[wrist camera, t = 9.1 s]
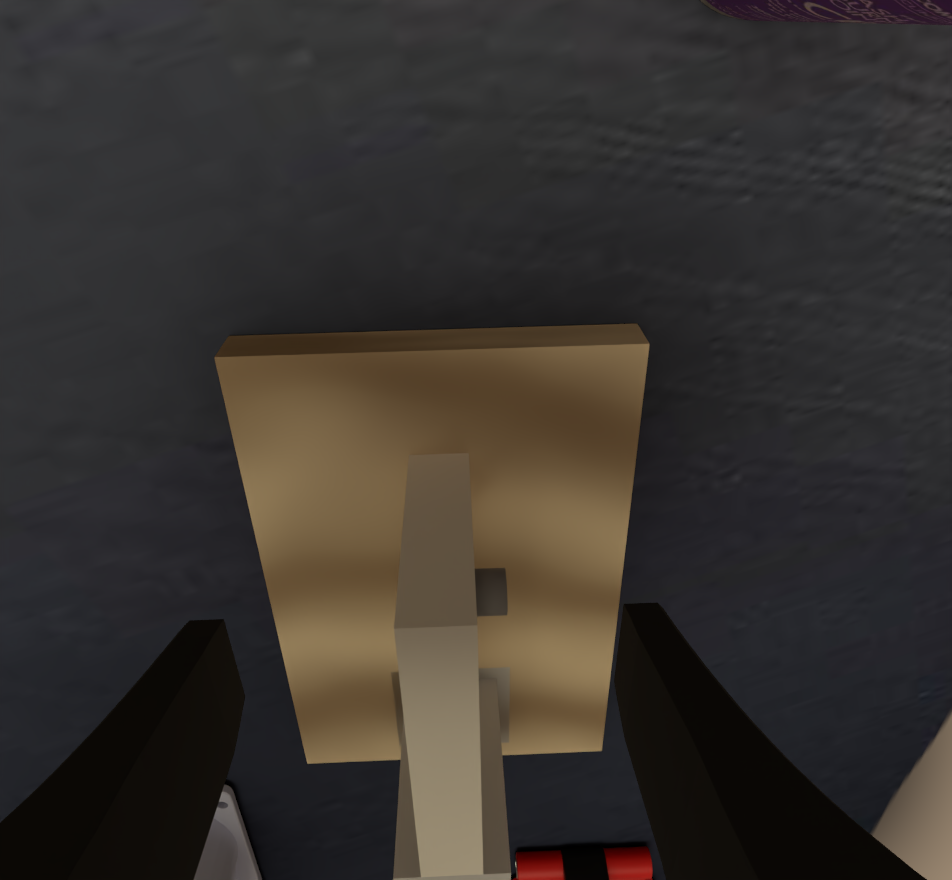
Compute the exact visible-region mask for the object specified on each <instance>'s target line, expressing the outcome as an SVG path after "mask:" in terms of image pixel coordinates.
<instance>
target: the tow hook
mask: <svg viewBox="0 0 952 880" xmlns="http://www.w3.org/2000/svg"><path fill="white" fill-rule="evenodd" d="M515 868H516V877H515V878H514V879H512V880H653V879H652V861H651V856H650V852H649V849H648V847H647V846H644V847H621V848H603V847H602V846H586V847H563V848H561V849H560V850H551V851H527V852H516V858H515Z"/></svg>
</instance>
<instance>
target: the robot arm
mask: <svg viewBox="0 0 952 880" xmlns="http://www.w3.org/2000/svg"><path fill="white" fill-rule="evenodd" d="M614 683H615V689H616V694H617V700H618V706H619V711H620V717H621V722H622V727H623V732H624V737H625V741H626V744H627V748H628V751H629V754H630V758H631V761H632V765H633V768H634V771H635V775H636V778H637V781H638V785H639V788H640V791H641V795H642V798H643V801H644V805H645V808H646V811H647V815H648V818H649V821H650V825H651V828H652V831H653V834H654V838H655V841H656V844H657V848H658V851H659V854H660V858H661V861H662V865H663V869H664V873H665V876H666V880H927V879H925V878H924V877H922V876H921V875H920V874H919V873H917V872H916V871H914V870H913V869H912V868H911V867H909V866H908V865H907V864H906V863H905V862H903V861H902V860H901V859H900V858H899V857H897V856H896V855H895V854H894V853H892V852H891V851H890V850H889V849H888V848H886V847H885V846H884V845H883V844H881V843H880V842H879V841H878V840H876V839H875V838H874V837H873V836H872V835H871V834H869V833H868V832H867V831H866V830H864V829H863V828H862V827H861V826H860V825H858V824H857V823H856V822H855V821H854V820H852V819H851V818H850V817H849V816H848V815H847V814H846V813H845V812H844V811H842V810H841V809H840V808H839V807H838V806H837V805H836V804H835V803H834V802H832V801H831V800H830V799H829V798H828V797H827V796H826V795H825V794H824V793H822V792H821V791H820V790H819V789H818V788H817V787H816V786H815V785H814V784H813V783H812V782H811V781H810V780H809V779H808V778H807V777H806V776H805V775H804V774H803V773H801V772H800V771H799V770H798V769H797V768H796V767H795V766H794V765H793V764H792V763H791V762H790V761H789V760H788V759H787V758H786V757H785V756H784V755H783V753H782V752H781V751H780V750H779V749H778V748H777V747H776V746H775V745H774V744H773V743H772V742H771V741H770V740H769V739H768V738H767V737H766V736H765V734H764V733H763V732H762V731H761V730H760V729H759V728H758V727H757V726H756V725H755V724H754V723H753V721H752V720H751V719H750V718H749V717H748V716H747V715H746V713H745V712H744V711H743V710H742V709H741V708H740V707H739V706H738V704H737V703H736V702H735V701H734V700H733V698H732V697H731V696H730V695H729V694H728V692H727V691H726V690H725V689H724V688H723V686H722V685H721V684H720V683H719V682H718V680H717V679H716V678H715V677H714V676H713V674H712V673H711V672H710V671H709V669H708V668H707V667H706V666H705V664H704V663H703V662H702V661H701V659H700V658H699V657H698V655H697V654H696V653H695V651H694V650H693V649H692V648H691V646H690V645H689V644H688V642H687V641H686V640H685V638H684V637H683V636H682V634H681V633H680V631H679V630H678V629H677V627H676V626H675V625H674V623H673V622H672V620H671V619H670V618H669V616H668V615H667V613H666V612H665V610H664V609H663V608H662V607H661V606H660V605H659V604H658V603H638V604H624V606H623V614H622V622H621V630H620V638H619V647H618V655H617V663H616V671H615V679H614ZM244 699H245V694H244V690H243V687H242V683H241V680H240V676H239V673H238V669H237V665H236V662H235V658H234V655H233V651H232V647H231V644H230V640H229V637H228V633H227V630H226V626H225V622H224V619H220V620H194V621H189V622H188V623H187V624H186V625H185V626H184V627H183V628H182V629H181V630H180V632H179V633H178V634H177V635H176V636H175V637H174V639H173V640H172V641H171V642H170V643H169V645H168V646H167V647H166V648H165V649H164V651H163V652H162V653H161V654H160V655H159V657H158V658H157V659H156V660H155V661H154V663H153V664H152V665H151V666H150V667H149V669H148V670H147V671H146V672H145V673H144V674H143V676H142V677H141V678H140V679H139V680H138V681H137V683H136V684H135V685H134V686H133V687H132V688H131V690H130V691H129V692H128V693H127V694H126V695H125V696H124V697H123V699H122V700H121V701H120V702H119V703H118V704H117V705H116V707H115V708H114V709H113V710H112V711H111V712H110V713H109V714H108V716H107V717H106V718H105V719H104V720H103V721H102V722H101V723H100V724H99V726H98V727H97V728H96V729H95V730H94V731H93V732H92V733H91V734H90V735H89V736H88V737H87V738H86V739H85V740H84V741H83V742H82V743H81V745H80V746H79V747H78V748H77V749H76V750H75V751H74V752H73V753H72V754H71V755H70V756H69V757H68V758H67V759H66V760H65V761H64V762H63V763H62V764H61V765H60V766H59V767H58V768H57V769H56V770H55V771H54V772H53V773H52V774H51V775H50V776H49V777H48V778H47V779H46V780H45V781H44V782H43V783H42V784H41V785H40V786H39V787H38V788H37V789H36V790H35V791H34V792H33V793H32V794H31V795H30V796H29V797H28V798H27V799H26V800H25V801H23V802H22V803H21V804H20V805H19V806H18V807H17V808H16V809H15V810H14V811H13V812H11V813H10V814H9V815H8V816H7V817H6V818H5V819H4V820H3V821H2V822H1V823H0V880H262V877H261V874H260V871H259V868H258V865H257V862H256V859H255V856H254V853H253V850H252V847H251V844H250V841H249V838H248V835H247V832H246V829H245V825H244V822H243V819H242V816H241V813H240V810H239V807H238V804H237V801H236V798H235V795H234V792H233V790H232V788H231V787H229V786H228V785H225V781H226V778H227V774H228V771H229V768H230V765H231V762H232V758H233V755H234V751H235V746H236V742H237V737H238V732H239V727H240V721H241V716H242V710H243V705H244Z"/></svg>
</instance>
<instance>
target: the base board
mask: <svg viewBox="0 0 952 880" xmlns="http://www.w3.org/2000/svg"><path fill="white" fill-rule="evenodd" d="M648 353H649V342H648V340H647V339H646V337H645V336H644V334H643V332H642V331H641V329H640V327H639V326H638V324H604V325H572V326H539V327H506V328H473V329H440V330H407V331H375V332H342V333H309V334H276V335H243V336H228V338H227V339H226V341H225V342H224V344H223V345H222V347H221V348H220V350H219V351H218V353H217V354H216V356H215V357H214V358H215V362H216V367H217V371H218V376H219V380H220V384H221V389H222V393H223V397H224V402H225V406H226V410H227V415H228V419H229V424H230V428H231V432H232V437H233V441H234V445H235V450H236V454H237V459H238V463H239V467H240V472H241V476H242V480H243V485H244V489H245V493H246V498H247V502H248V507H249V511H250V515H251V520H252V524H253V528H254V533H255V537H256V542H257V546H258V550H259V555H260V559H261V563H262V568H263V572H264V576H265V581H266V585H267V590H268V594H269V598H270V603H271V607H272V611H273V616H274V620H275V624H276V629H277V633H278V638H279V642H280V646H281V651H282V655H283V659H284V664H285V668H286V673H287V677H288V681H289V686H290V690H291V694H292V699H293V703H294V707H295V712H296V716H297V721H298V725H299V729H300V734H301V738H302V742H303V747H304V751H305V756H306V760H307V764H311V763H334V762H357V761H380V760H401V746H402V730H403V707H402V698H401V689H400V680H399V671H398V661H397V652H396V643H395V634H394V622H395V610H396V599H397V587H398V576H399V564H400V552H401V541H402V529H403V518H404V506H405V494H406V483H407V471H408V460H409V455H425V454H454V453H469V467H470V487H471V507H472V527H473V547H474V567H475V569H481V568H505V570H506V580H507V600H508V612H507V615H503V616H477V629H478V671H479V679H492V678H496V679H497V693H498V706H499V719H500V733H501V746H502V755H519V754H542V753H566V752H589V751H602V743H603V735H604V726H605V718H606V709H607V701H608V692H609V684H610V676H611V667H612V659H613V650H614V642H615V633H616V625H617V616H618V608H619V599H620V591H621V582H622V574H623V565H624V557H625V548H626V540H627V531H628V523H629V514H630V506H631V497H632V489H633V480H634V472H635V463H636V455H637V446H638V438H639V429H640V421H641V412H642V404H643V395H644V387H645V378H646V370H647V361H648Z"/></svg>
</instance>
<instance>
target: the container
mask: <svg viewBox="0 0 952 880" xmlns="http://www.w3.org/2000/svg"><path fill="white" fill-rule="evenodd" d="M700 1H701V2H703V3H704V4H705V5H706V6H708V7H709V8H711V9H712V10H714V11H716V12H718V13H720V14H722V15H725V16H728V17H732V18H737V19H745V20H755V21H794V22H838V23H882V24H927V25H952V0H700Z"/></svg>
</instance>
